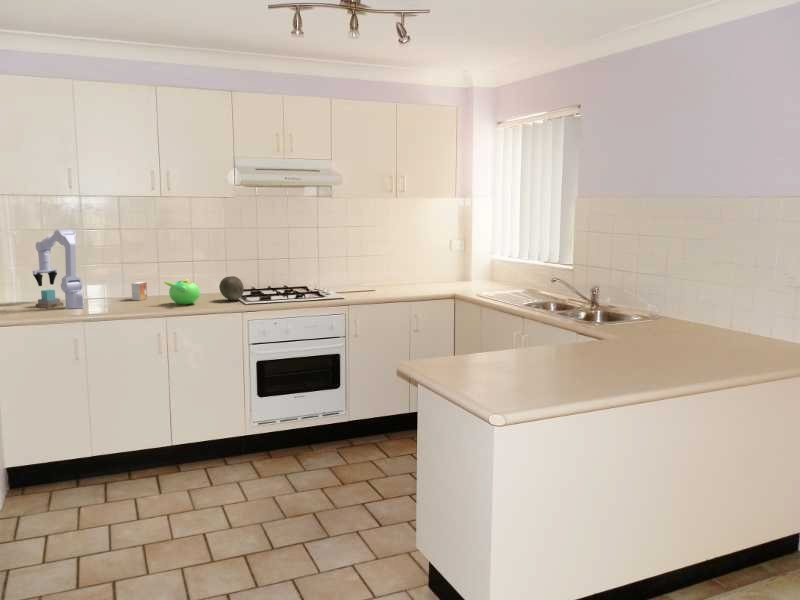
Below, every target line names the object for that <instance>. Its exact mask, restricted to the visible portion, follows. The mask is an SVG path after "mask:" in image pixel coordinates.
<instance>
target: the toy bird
mask: <svg viewBox="0 0 800 600" xmlns="http://www.w3.org/2000/svg"><path fill="white" fill-rule="evenodd" d="M163 283H164V284H165V285H167V286H169V287H170V288H169V289H168V290H169V291H168V294H169V297H170V299H171V300H172V302H174V303H176V304H179V305H183V306H184V305H191V304H194V303H196V302H197V300H199V298H200V295H201V290H200V288H199V286H198V285H197V284H196V283H194V282H192V281H190V278H188V279H184V280H180V281H177V282H170V281H164V282H163Z"/></svg>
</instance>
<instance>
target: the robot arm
mask: <svg viewBox="0 0 800 600" xmlns="http://www.w3.org/2000/svg"><path fill="white" fill-rule="evenodd" d="M57 242H58V243H59V244H60V245H61V246H63V247H64V252H65V253H64V255H65V258H64V259H65V260H64V261H65V275H63V277H62V278H61V284H60V289H61V291H62V292H63V293H64V298H65V306H64V309H65V310H67V309H83V308H84V307H85V298H84V292H83V291H81V290H82V288H83V283H82V278H81V276H79V275H77V262H76V261H77V260H76V258H77V257H76V245H77V243H78V241H77V233H76V230H74V229H73V228H72V229H56V230H55V231H54V232H53V234H52V235H51V236H50V235H47V236H46V237H45V238H44V239H42V241H36V243H35V249H36V251H37V254H38V268H39V269H35V270H32V275H33V277H34V279H35V280H36V282H37V285H38V287H43V277H44V276H43V275H44V274H47V275H48V278H49V285H54V284H55V279H56V277H57V275H58V268H57V267H55V268H54V267H53V268H51V258H50V254H51V249H52V248H53V247H54V246H56V243H57Z"/></svg>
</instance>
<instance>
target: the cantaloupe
mask: <svg viewBox="0 0 800 600" xmlns="http://www.w3.org/2000/svg"><path fill="white" fill-rule="evenodd" d="M218 287H219V291H220V293H221V295H222V296H223V297H224V298H225V299H226V300H229V301H234V302H235V301H237V300H239V299H241V298H242V297H243V296H244V295H243V294H244V291H245V290H244V289H245V288H244V284H243V281H242V280H241V278H239V277H237V276H234V275H233V276H225V277H224V278H222V279H221V280H220V283H219V286H218Z"/></svg>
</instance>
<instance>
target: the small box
mask: <svg viewBox="0 0 800 600" xmlns="http://www.w3.org/2000/svg"><path fill="white" fill-rule="evenodd" d="M147 284H148V283H147V281H136V282H132V283H131V300H132V301H143V300H147V299H148V286H147Z"/></svg>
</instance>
